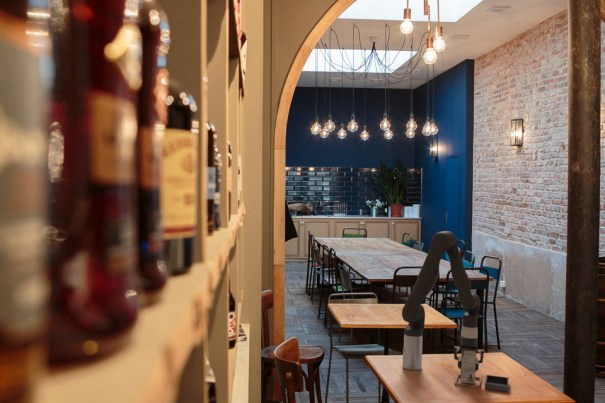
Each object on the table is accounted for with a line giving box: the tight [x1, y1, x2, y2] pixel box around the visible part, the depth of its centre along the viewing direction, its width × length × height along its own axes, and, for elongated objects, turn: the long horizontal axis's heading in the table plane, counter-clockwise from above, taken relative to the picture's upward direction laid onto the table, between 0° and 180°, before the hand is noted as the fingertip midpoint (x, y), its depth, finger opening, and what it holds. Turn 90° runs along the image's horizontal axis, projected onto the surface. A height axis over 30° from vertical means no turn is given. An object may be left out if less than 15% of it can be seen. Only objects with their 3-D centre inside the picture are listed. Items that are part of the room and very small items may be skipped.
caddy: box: [484, 374, 510, 394], centre depth 262 cm, size 10×13×3 cm
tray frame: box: [454, 373, 483, 390], centre depth 267 cm, size 12×14×1 cm
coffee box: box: [460, 347, 477, 385], centre depth 267 cm, size 9×6×16 cm
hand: (468, 369), depth 267 cm, fingers closed on coffee box, 7 cm apart
